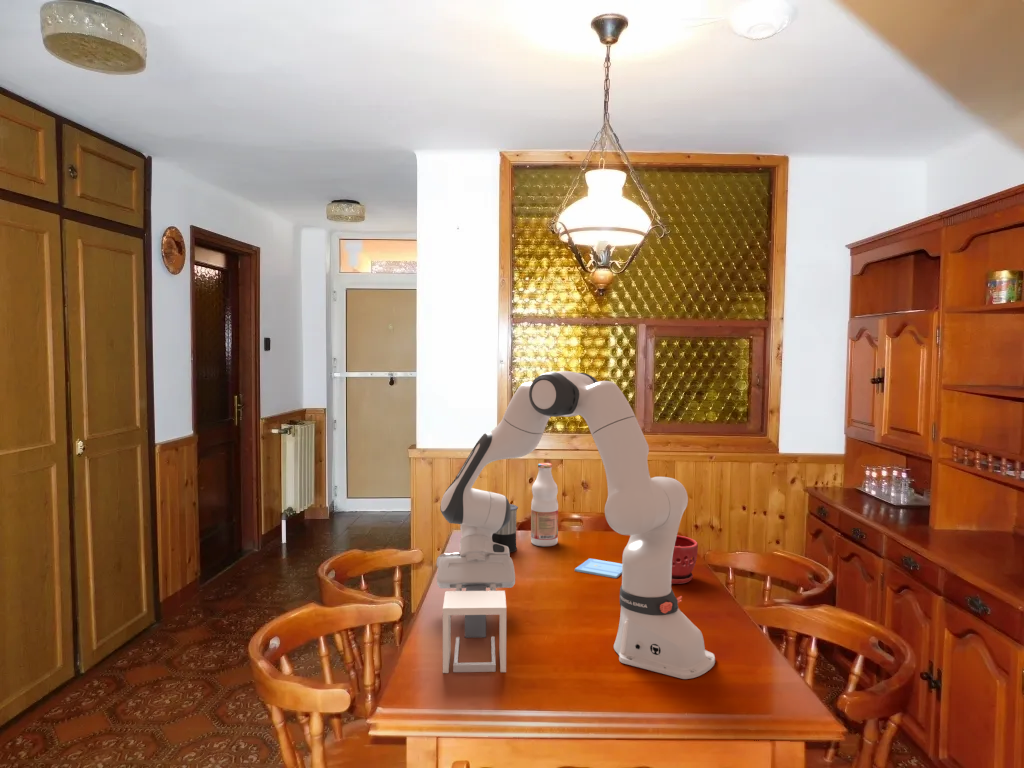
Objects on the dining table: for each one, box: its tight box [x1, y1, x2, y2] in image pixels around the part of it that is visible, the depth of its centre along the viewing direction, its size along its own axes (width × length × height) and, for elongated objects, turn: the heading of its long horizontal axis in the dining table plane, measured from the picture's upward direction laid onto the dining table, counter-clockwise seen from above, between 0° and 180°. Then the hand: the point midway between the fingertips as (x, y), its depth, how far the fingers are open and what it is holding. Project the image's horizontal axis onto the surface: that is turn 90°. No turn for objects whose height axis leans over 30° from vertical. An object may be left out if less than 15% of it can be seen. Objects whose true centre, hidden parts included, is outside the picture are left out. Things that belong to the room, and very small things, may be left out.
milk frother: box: [492, 503, 519, 553], centre depth 229 cm, size 14×16×15 cm
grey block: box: [464, 585, 487, 639], centre depth 169 cm, size 13×5×8 cm, turn 2°
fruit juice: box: [530, 462, 559, 547], centre depth 240 cm, size 9×9×28 cm
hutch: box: [442, 590, 507, 674], centre depth 153 cm, size 16×13×14 cm
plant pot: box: [671, 534, 699, 585], centre depth 204 cm, size 13×13×12 cm
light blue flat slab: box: [574, 557, 622, 579], centre depth 213 cm, size 14×12×1 cm
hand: (475, 602), depth 173 cm, fingers closed on grey block, 5 cm apart
